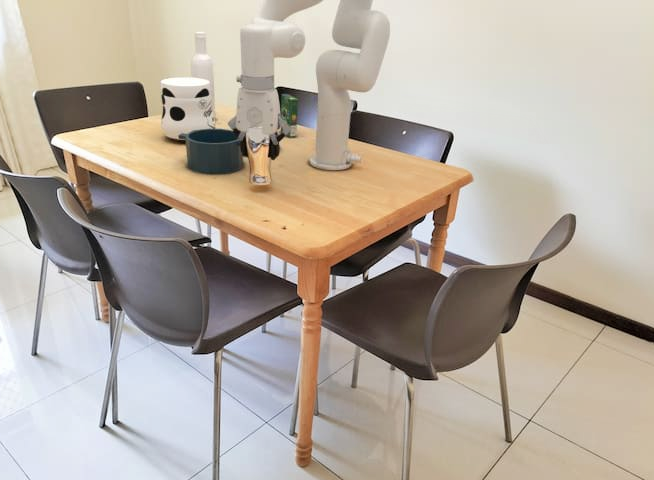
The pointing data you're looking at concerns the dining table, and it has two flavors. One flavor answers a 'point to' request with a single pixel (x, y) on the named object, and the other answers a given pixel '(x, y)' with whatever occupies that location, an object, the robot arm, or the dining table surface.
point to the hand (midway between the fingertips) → (259, 156)
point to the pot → (213, 151)
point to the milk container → (185, 106)
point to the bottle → (203, 65)
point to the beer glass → (259, 156)
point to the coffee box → (289, 113)
